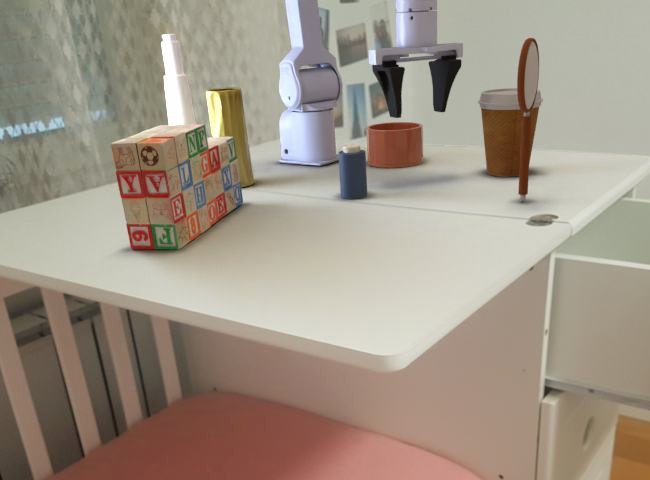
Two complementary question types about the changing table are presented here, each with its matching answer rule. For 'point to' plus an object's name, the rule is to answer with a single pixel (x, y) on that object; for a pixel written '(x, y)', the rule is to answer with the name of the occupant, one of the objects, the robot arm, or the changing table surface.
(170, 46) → the cosmetic bottle
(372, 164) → the cup
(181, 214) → the stack of blocks
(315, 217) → the changing table surface
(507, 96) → the disposable coffee cup
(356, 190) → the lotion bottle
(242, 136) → the vase
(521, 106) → the magnifying glass
